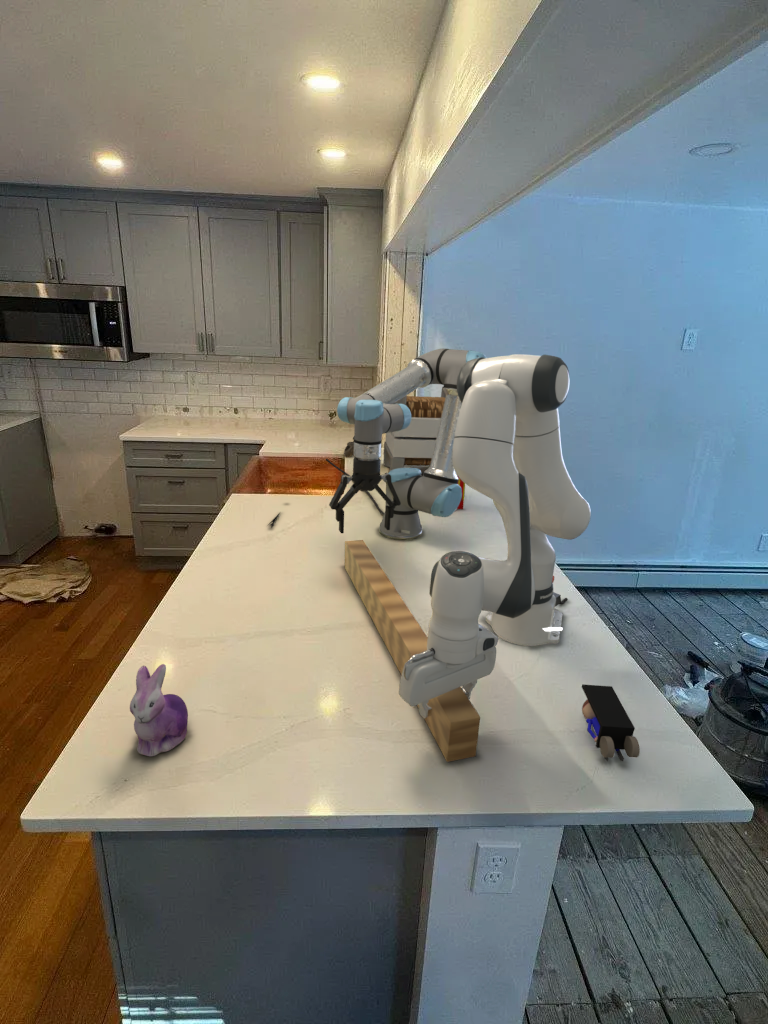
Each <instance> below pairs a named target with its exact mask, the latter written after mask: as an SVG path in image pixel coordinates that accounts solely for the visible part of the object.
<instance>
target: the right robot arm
mask: <svg viewBox="0 0 768 1024" xmlns="http://www.w3.org/2000/svg"><path fill="white" fill-rule="evenodd" d="M570 383H571V382H570V370H569V367H568V365H567V363H566V362H565V361H564V360H563V359H562V358H561V357H559V356H555V355H550V354H542V355H536V354H520V353H518V354H517V353H515V354H514V353H513V354H509V355H501V356H500V355H499V356H493V357H487V358H484V357H481V358H477V359H473V360H470V361H468V362H466V364H465V365H464V366H463V367H462V369H461V370H460V372H459V375H458V379H457V393H458V396H459V399H460V401H461V403H462V405H461V408H460V412H459V416H458V420H457V424H456V429H455V435H454V442H453V454H452V464H453V468H454V470H455V472H456V474H457V475H458V477H459V478H460V479H461V480H462V481H463V482H464V483H465V485H466V486H468V487H469V488H471V489H473V490H475V491H476V492H478V493H480V494H482V495H484V496H485V497H487V498H489V499H491V500H492V503H493V505H494V507H495V508H496V509H497V511H498V513H499V515H500V517H501V520H502V523H503V527H504V531H505V535H506V543H507V555H506V556H507V557H506V560H499V559H493V558H487V557H480V556H477V555H476V554H474V553H472V552H468V551H465V550H453V551H449V552H446V553H445V554H443V555H442V556H441V557H440V558H439V560H437V561H436V562H435V563H434V565H433V567H432V570H431V573H430V583H429V597H430V598H431V599H430V606H431V607H430V608H431V617H430V618H429V621H428V630H427V637H428V639H427V650H426V651H423V652H422V653H419V654H415V655H413V656H411V659H409V660H408V661H407V662H406V663H405V665H404V669H403V672H402V675H400V676H401V677H400V681H399V685H398V686H399V687H398V695H399V697H400V698H401V699H402V700H403V701H404V702H405V703H406V704H407V705H409V706H410V707H415V706H417V705H419V706H420V709H419V708H418V713H419V715H420V716H421V717H422V719H424V718H427V717H429V716H431V714H432V713H431V712H432V708H431V707H430V706H428V704H427V703H429V700H430V699H432V698H435V697H437V696H440V695H442V694H444V693H447V692H449V691H451V690H454V689H456V688H459V687H461V689H462V690H463V692H464V693H465V695H466V696H467V698H468V699H469V700H470V699H471V694H472V691H473V690H474V689H475V686H476V685H477V683H478V680H480V679H483V678H485V677H488V676H489V675H491V674H492V672H493V671H494V670H495V665H496V659H497V645H498V642H499V638H500V639H502V640H503V641H506V642H508V643H511V644H514V645H518V646H525V647H536V646H542V645H546V644H549V645H551V644H552V645H555V644H559V642H560V638H561V637H560V636H561V632H562V631H563V627H562V623H563V612H562V611H560V610H559V609H556V607H557V606H559V605H560V606H561V605H563V604H565V603H566V602H567V601H568V600H569V599H568V597H564V598H563V599H562V597H561V594H559V593H558V592H554V581H555V575H554V572H555V564H556V559H557V557H556V556H557V555H556V550H555V549H554V547H553V545H552V544H551V542H550V540H549V539H548V537H547V536H549V537H551V538H557V539H562V540H568V541H572V540H575V539H577V538H579V537H580V536H581V535H583V534H584V533H585V531H586V530H587V529H588V527H589V525H590V523H591V517H592V511H591V506H590V503H589V502H588V501H587V499H585V498H584V497H583V496H582V495H581V492H579V491H578V489H577V488H576V485H575V484H574V482H573V481H572V478H571V476H570V474H569V471H568V470H567V466H566V464H565V461H564V457H563V451H562V441H561V440H562V439H561V428H560V427H561V425H560V414H559V407H561V406H562V405H563V404H564V403H565V402H566V401H567V400H566V399H567V397H568V394H569V391H570ZM482 611H485V612H488V614H487V615H485V619H484V621H485V622H486V623H487V624H488V625H489V626H491V629H492V631H491V630H490V629H488V628H487V627H485V626H483V625H482V624H480V623H479V617H480V615H481V613H482Z"/></svg>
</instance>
